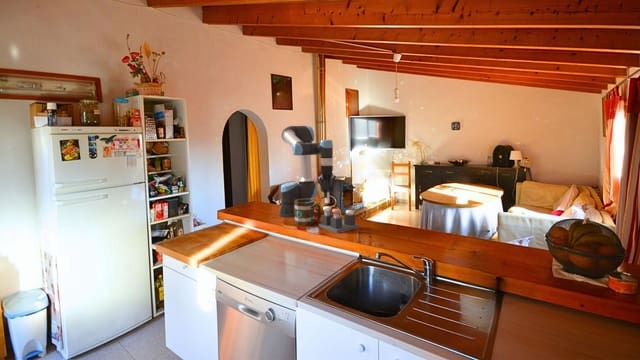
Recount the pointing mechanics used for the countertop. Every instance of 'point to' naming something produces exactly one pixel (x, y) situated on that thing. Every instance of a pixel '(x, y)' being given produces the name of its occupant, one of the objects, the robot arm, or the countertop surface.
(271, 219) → the countertop surface
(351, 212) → the cream knob left
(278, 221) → the countertop surface
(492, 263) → the countertop surface
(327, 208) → the cream knob near
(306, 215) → the mug
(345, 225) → the knob mount
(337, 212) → the terracotta knob
